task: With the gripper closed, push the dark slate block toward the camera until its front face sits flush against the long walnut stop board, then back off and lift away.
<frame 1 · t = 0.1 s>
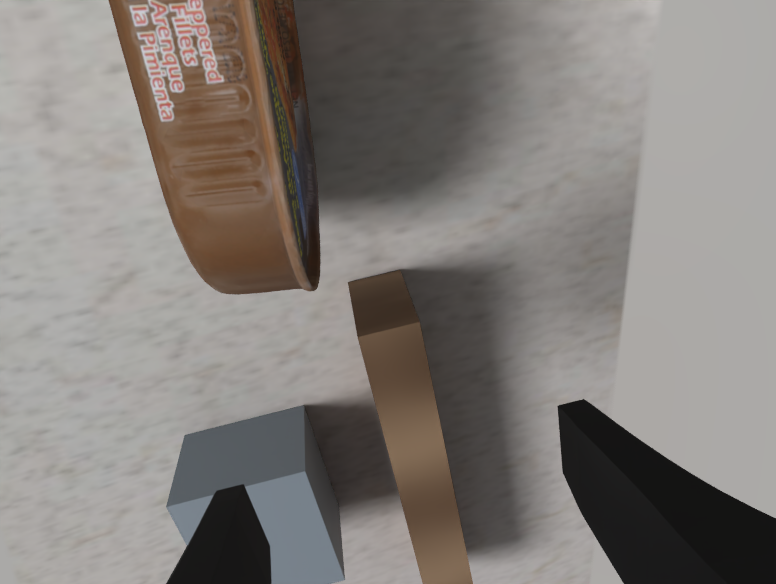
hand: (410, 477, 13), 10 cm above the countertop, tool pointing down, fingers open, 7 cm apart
walnut board: (412, 437, 26), on the countertop
slate block: (266, 470, 26), on the countertop
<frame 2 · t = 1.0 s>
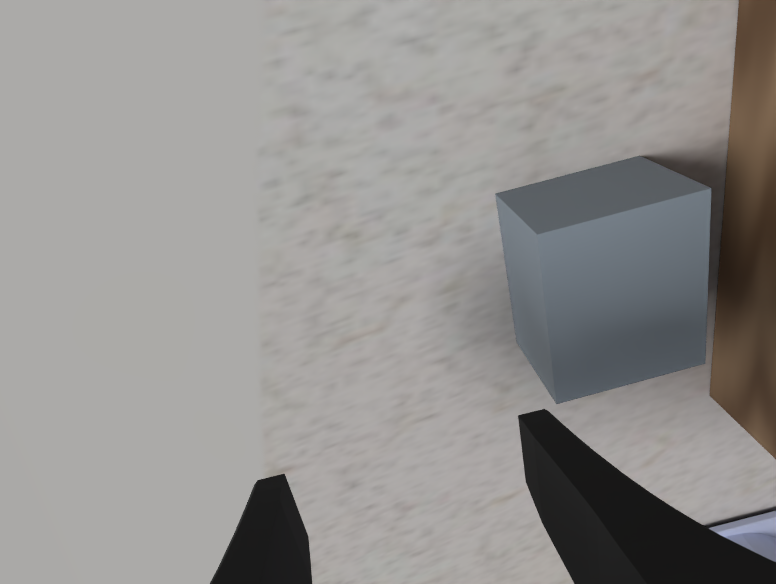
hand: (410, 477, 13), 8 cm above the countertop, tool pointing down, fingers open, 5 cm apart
walnut board: (749, 213, 21), on the countertop
slate block: (572, 253, 21), on the countertop
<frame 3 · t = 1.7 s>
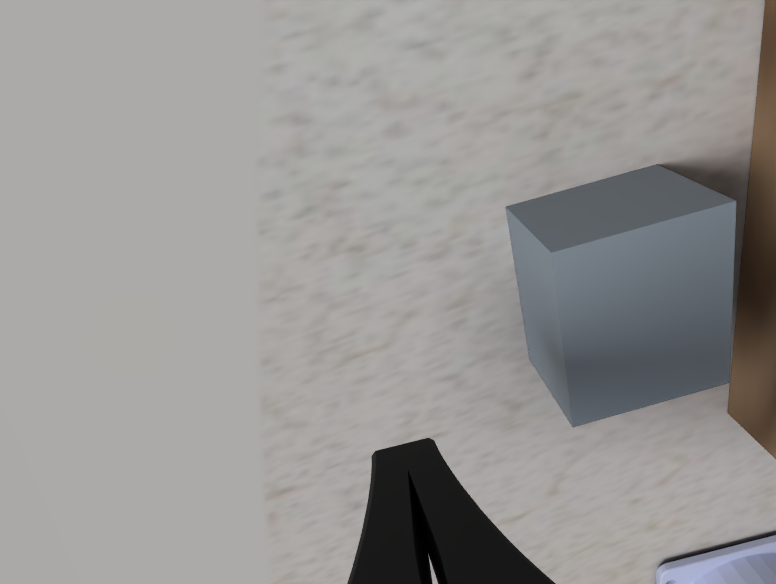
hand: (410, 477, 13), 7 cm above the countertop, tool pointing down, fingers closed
walnut board: (771, 225, 20), on the countertop
slate block: (586, 266, 20), on the countertop
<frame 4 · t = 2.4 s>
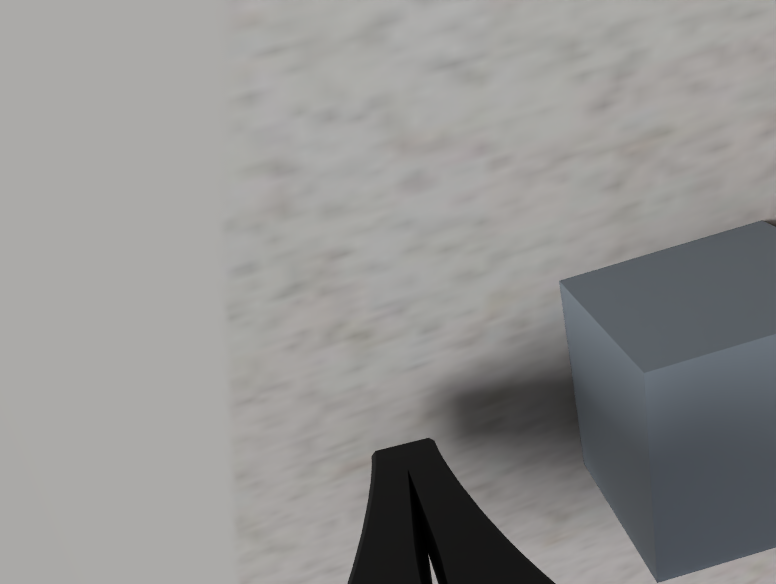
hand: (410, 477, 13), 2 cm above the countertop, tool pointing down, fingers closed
slate block: (661, 349, 15), on the countertop
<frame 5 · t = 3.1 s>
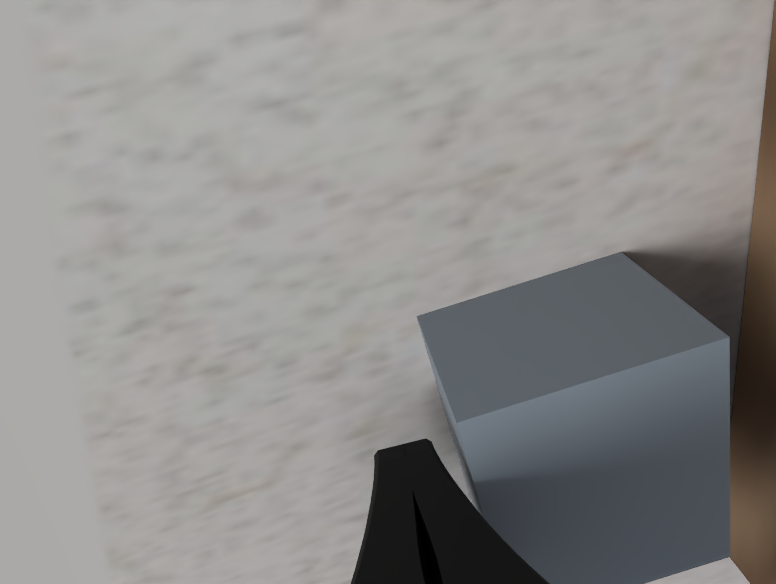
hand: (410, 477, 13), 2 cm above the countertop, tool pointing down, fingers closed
slate block: (536, 381, 15), on the countertop, touching gripper
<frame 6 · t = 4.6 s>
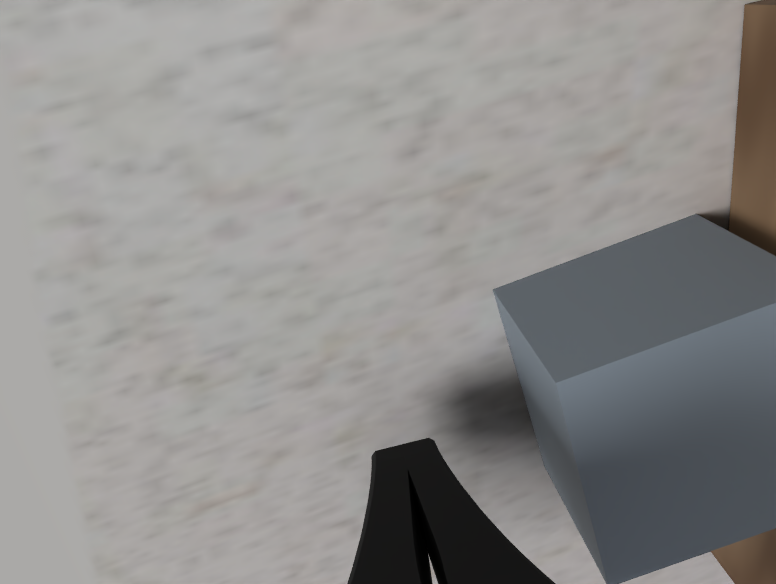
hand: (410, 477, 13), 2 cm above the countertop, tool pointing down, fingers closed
walnut board: (757, 330, 15), on the countertop
slate block: (610, 348, 15), on the countertop
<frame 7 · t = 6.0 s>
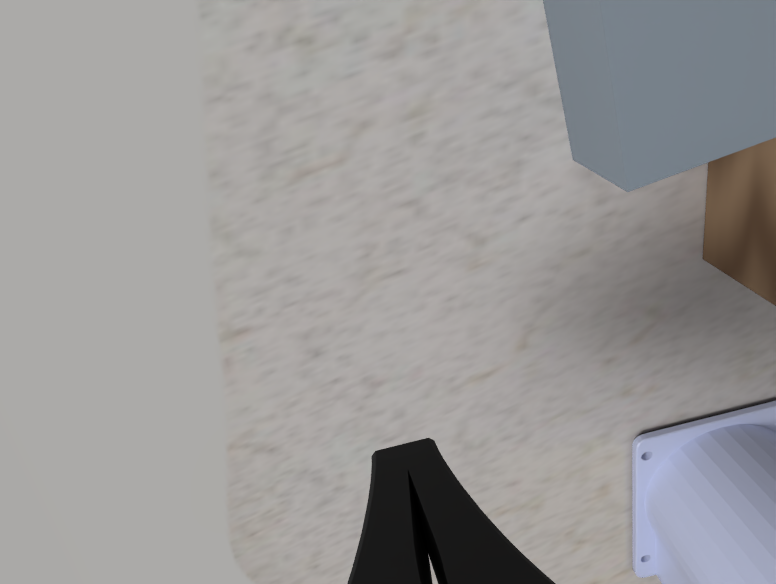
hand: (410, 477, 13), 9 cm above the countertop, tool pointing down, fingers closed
walnut board: (744, 33, 19), on the countertop
slate block: (627, 45, 19), on the countertop
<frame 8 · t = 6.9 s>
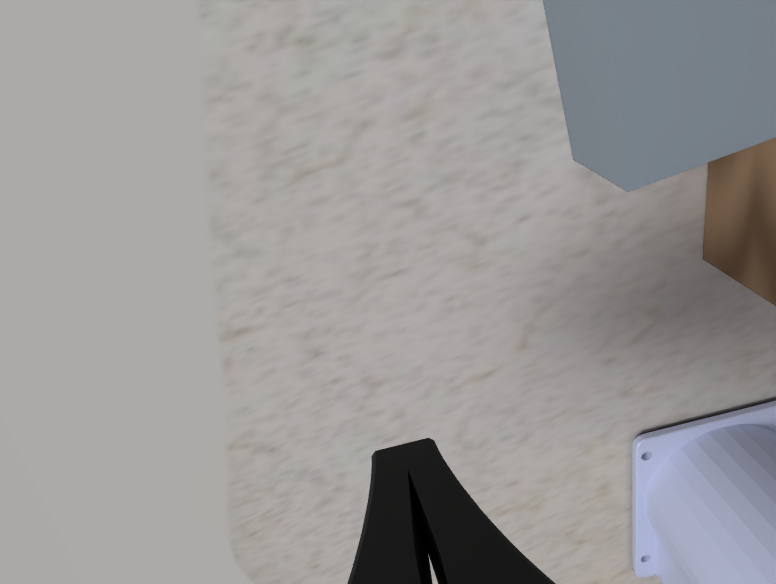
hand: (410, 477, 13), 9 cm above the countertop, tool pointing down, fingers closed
walnut board: (744, 33, 19), on the countertop
slate block: (627, 45, 19), on the countertop
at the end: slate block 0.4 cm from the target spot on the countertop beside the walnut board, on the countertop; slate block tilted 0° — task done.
